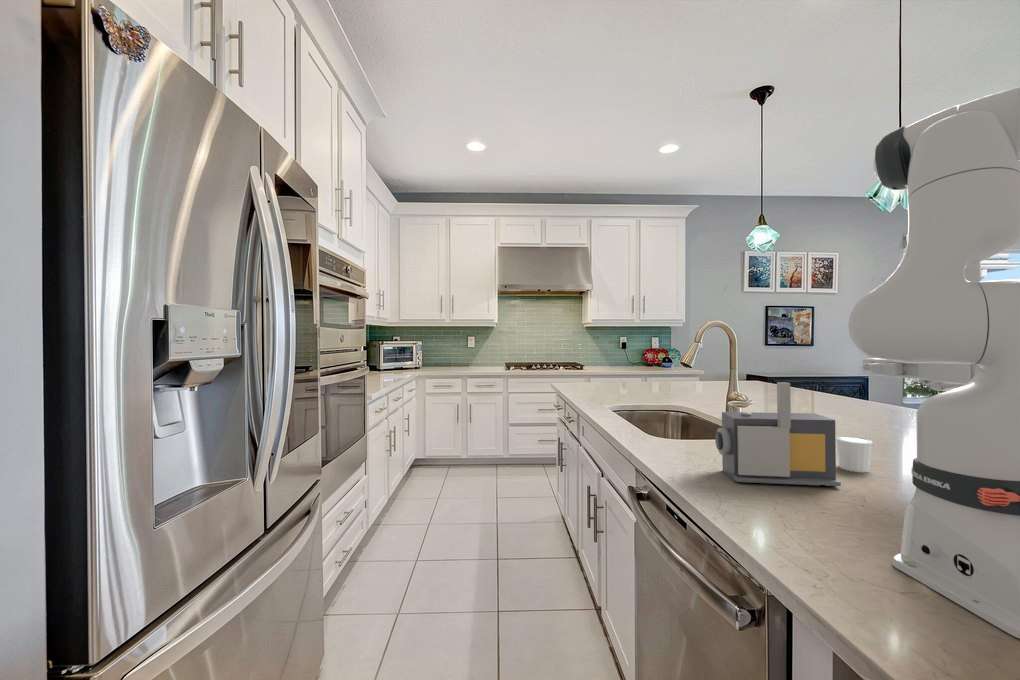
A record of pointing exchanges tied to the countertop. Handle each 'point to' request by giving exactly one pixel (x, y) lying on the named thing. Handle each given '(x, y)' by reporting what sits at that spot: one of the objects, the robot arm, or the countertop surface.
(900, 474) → the countertop surface
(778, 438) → the side door
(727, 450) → the camera housing
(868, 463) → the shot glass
